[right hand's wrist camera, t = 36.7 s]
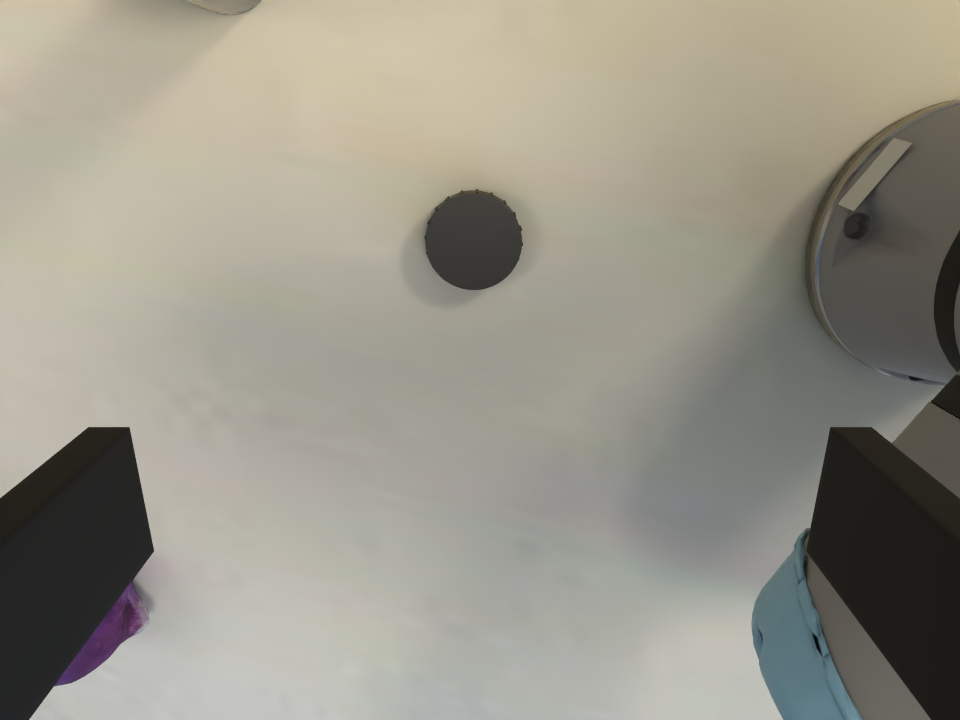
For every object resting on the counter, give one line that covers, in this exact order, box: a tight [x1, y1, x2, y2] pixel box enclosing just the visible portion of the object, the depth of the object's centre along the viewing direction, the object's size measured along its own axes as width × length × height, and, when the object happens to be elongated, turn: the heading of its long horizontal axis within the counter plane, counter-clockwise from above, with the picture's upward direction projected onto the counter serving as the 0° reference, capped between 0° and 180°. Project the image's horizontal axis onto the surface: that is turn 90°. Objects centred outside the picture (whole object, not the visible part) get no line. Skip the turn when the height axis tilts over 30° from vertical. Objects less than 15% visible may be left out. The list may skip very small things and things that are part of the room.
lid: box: [425, 189, 523, 290], centre depth 37 cm, size 5×5×2 cm
